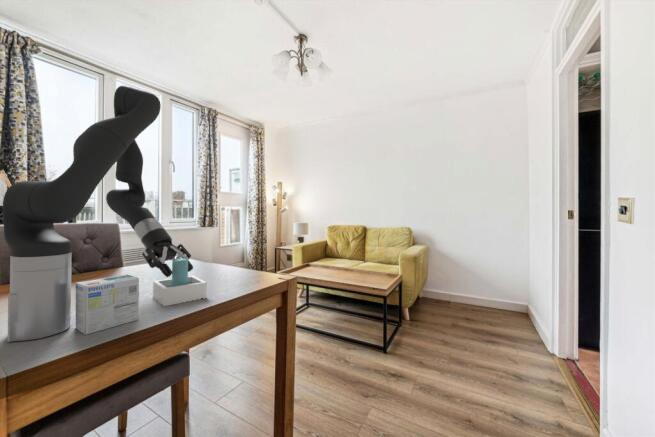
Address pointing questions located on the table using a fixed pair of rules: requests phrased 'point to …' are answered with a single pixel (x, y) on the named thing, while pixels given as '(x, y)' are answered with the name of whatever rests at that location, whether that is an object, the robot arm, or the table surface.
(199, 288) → the hole box
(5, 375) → the table surface
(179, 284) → the peg
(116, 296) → the light bulb box
